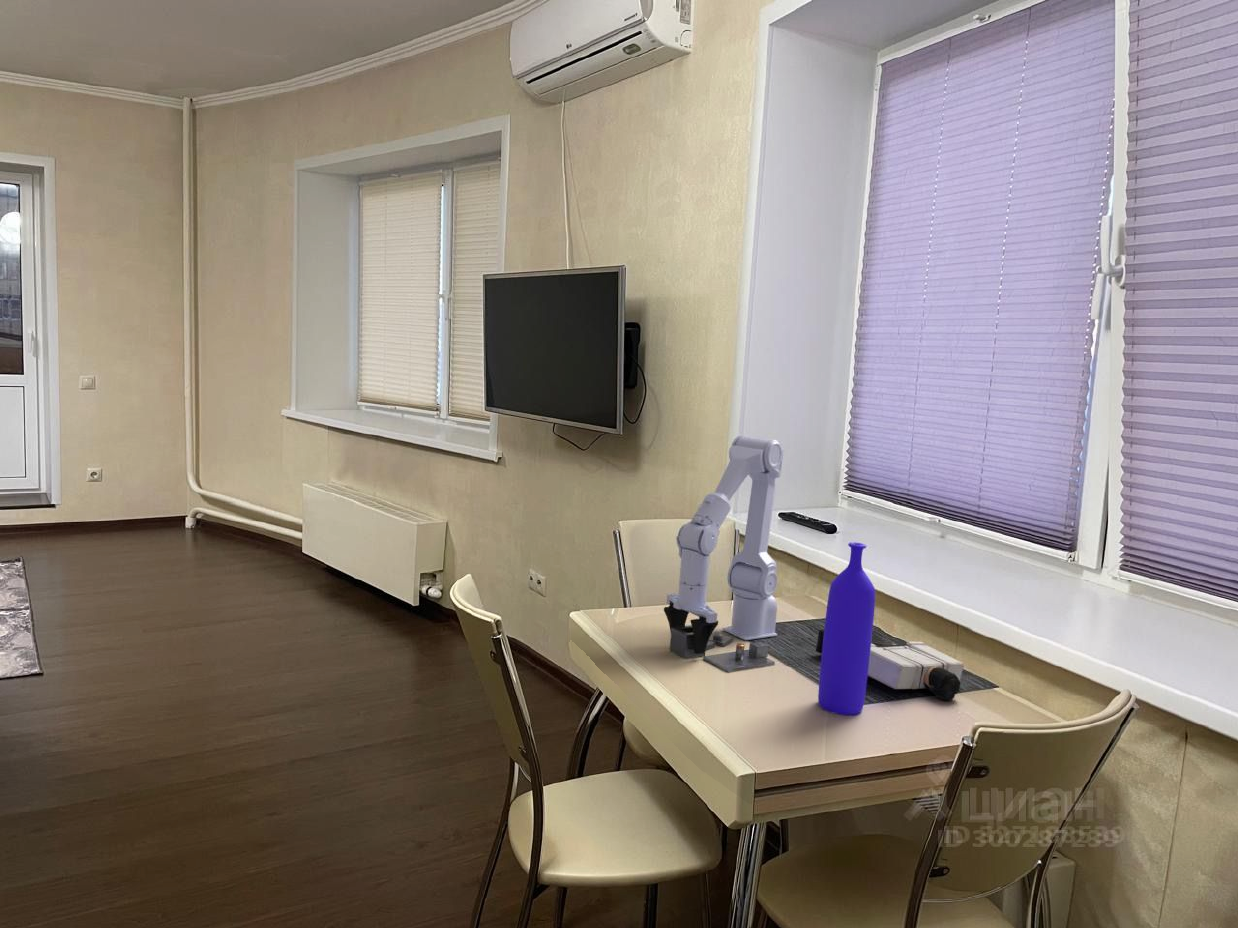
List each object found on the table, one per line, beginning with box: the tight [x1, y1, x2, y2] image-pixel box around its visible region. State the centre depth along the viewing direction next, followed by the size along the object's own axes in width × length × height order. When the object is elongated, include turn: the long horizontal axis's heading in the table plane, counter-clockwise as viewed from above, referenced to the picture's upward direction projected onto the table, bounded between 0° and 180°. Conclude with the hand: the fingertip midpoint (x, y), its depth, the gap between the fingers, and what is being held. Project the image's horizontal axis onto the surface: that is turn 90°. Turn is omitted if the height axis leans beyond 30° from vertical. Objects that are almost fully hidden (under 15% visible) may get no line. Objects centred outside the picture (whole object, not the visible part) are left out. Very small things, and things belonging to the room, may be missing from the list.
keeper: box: [702, 641, 776, 673], centre depth 190 cm, size 12×8×4 cm, turn 123°
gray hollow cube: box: [669, 624, 707, 660], centre depth 193 cm, size 5×5×5 cm
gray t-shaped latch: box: [706, 631, 734, 651], centre depth 200 cm, size 10×5×2 cm, turn 152°
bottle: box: [817, 541, 876, 716], centre depth 168 cm, size 8×8×30 cm
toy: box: [815, 629, 964, 702], centre depth 188 cm, size 19×7×30 cm
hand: (687, 646), depth 193 cm, fingers open, 7 cm apart
